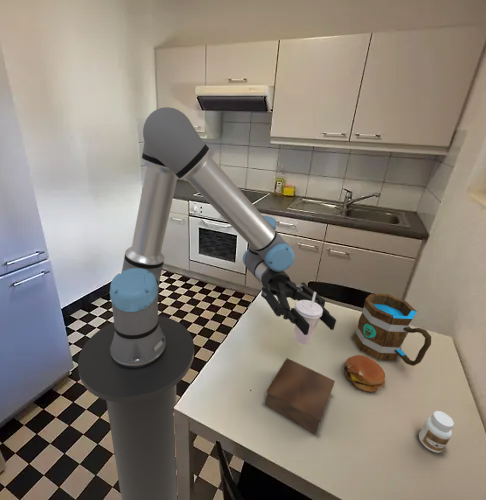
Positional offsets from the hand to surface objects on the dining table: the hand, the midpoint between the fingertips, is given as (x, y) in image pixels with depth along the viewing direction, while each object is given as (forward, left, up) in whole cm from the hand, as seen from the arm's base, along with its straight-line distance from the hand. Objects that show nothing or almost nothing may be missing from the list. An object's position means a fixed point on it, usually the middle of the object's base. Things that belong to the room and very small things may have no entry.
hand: (320, 327), depth 63 cm
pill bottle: (+27, +3, -20) cm, 33 cm away
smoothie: (-4, +3, -8) cm, 9 cm away
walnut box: (0, -4, -20) cm, 20 cm away
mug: (+16, +28, -20) cm, 38 cm away
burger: (+12, +13, -20) cm, 27 cm away
